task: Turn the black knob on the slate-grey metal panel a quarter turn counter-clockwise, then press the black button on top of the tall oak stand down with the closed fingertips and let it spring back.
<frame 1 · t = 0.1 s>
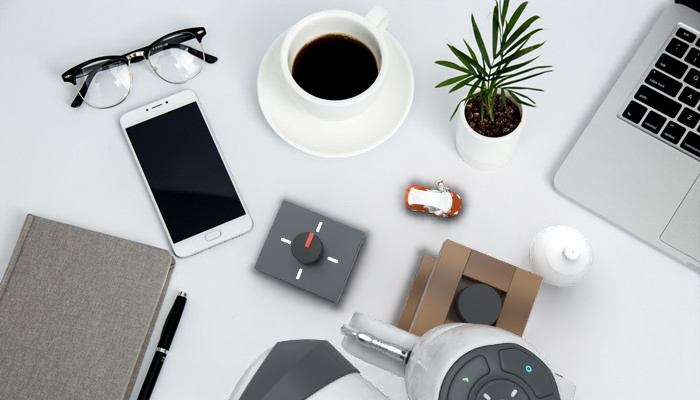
hand: (441, 365, 62), 20 cm above the table, tool pointing down, fingers open, 8 cm apart
control panel: (311, 252, 85), on the table
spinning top: (544, 260, 84), on the table
dial knob: (307, 248, 80), point 5 cm above the table, hinge at 0.0°
toy car: (433, 201, 86), on the table
start button: (477, 305, 59), point 24 cm above the table, slide at 0.1 cm
button stand: (447, 308, 83), on the table
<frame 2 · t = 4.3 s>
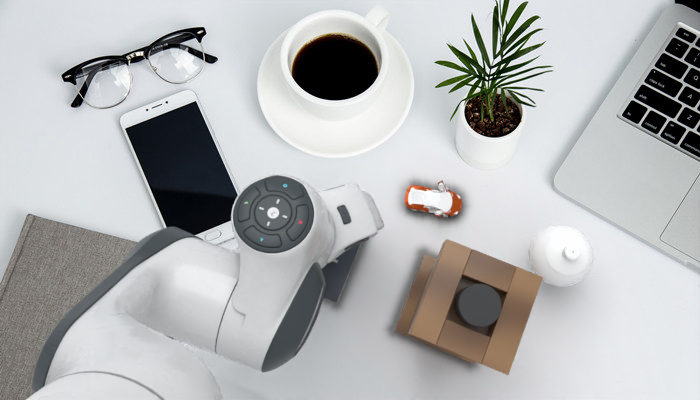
hand: (309, 249, 81), 4 cm above the table, tool pointing down, fingers closed on dial knob, 4 cm apart
dial knob: (307, 248, 80), point 5 cm above the table, hinge at 0.0°, touching gripper
everything else where it was.
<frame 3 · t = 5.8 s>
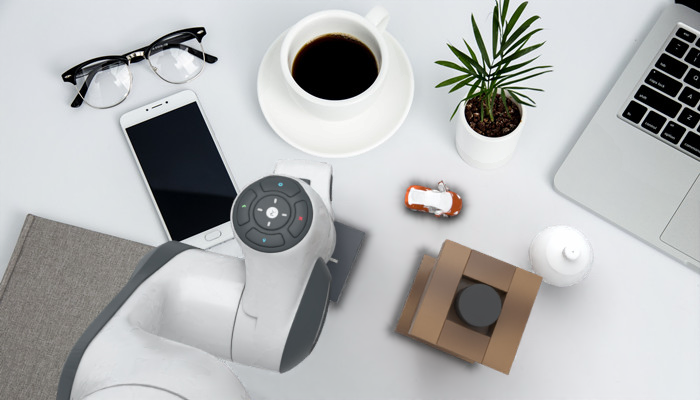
hand: (308, 249, 81), 4 cm above the table, tool pointing down, fingers closed on dial knob, 4 cm apart
dial knob: (307, 248, 80), point 5 cm above the table, hinge at 60.8°, touching gripper
everything else where it was.
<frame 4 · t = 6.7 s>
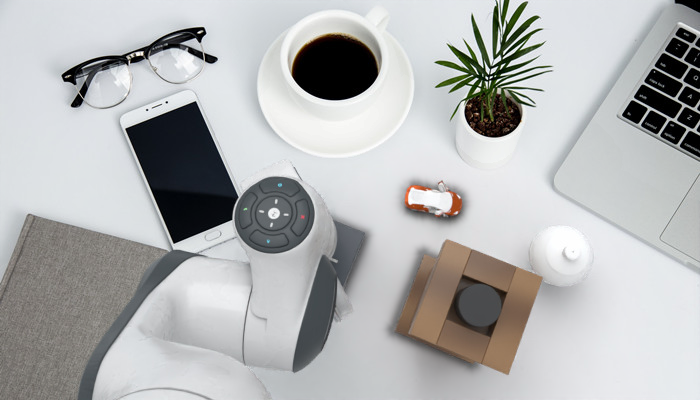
hand: (309, 249, 81), 4 cm above the table, tool pointing down, fingers closed on dial knob, 4 cm apart
dial knob: (307, 248, 80), point 5 cm above the table, hinge at 96.2°, touching gripper
everything else where it was.
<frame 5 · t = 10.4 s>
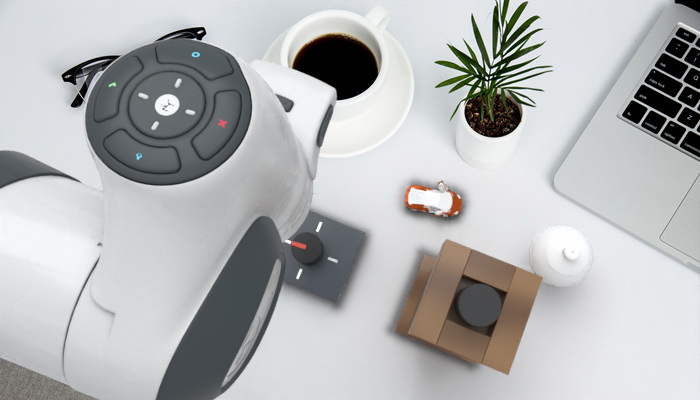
hand: (277, 217, 54), 31 cm above the table, tool pointing down, fingers open, 4 cm apart
dial knob: (307, 248, 80), point 5 cm above the table, hinge at 96.1°
everything else where it was.
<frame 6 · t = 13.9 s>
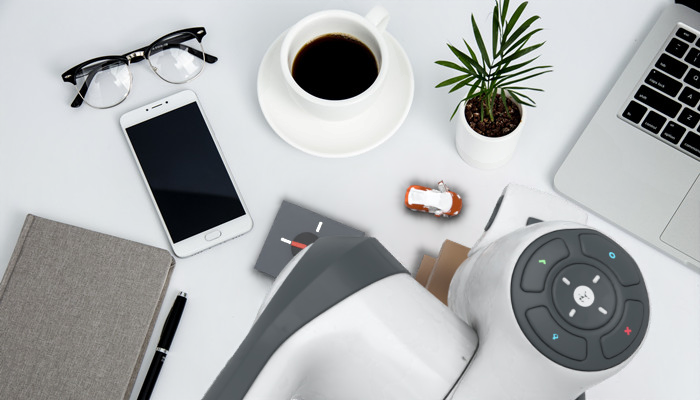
hand: (478, 305, 58), 25 cm above the table, tool pointing down, fingers closed, pressing on start button
start button: (476, 305, 60), point 24 cm above the table, slide at -0.8 cm, touching gripper
everything else where it was.
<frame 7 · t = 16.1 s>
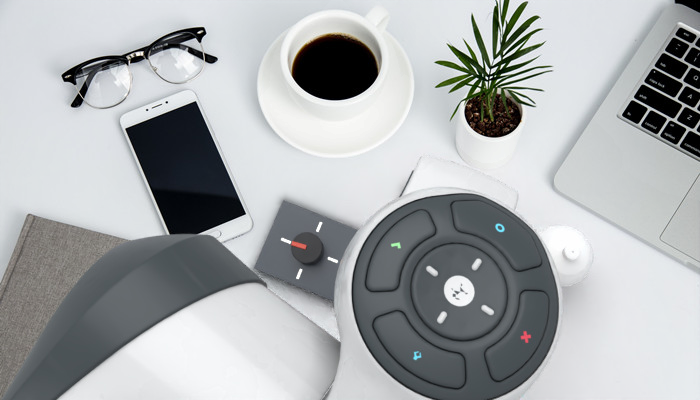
hand: (404, 309, 49), 35 cm above the table, tool pointing down, fingers closed
start button: (477, 305, 59), point 24 cm above the table, slide at 0.1 cm
everything else where it was.
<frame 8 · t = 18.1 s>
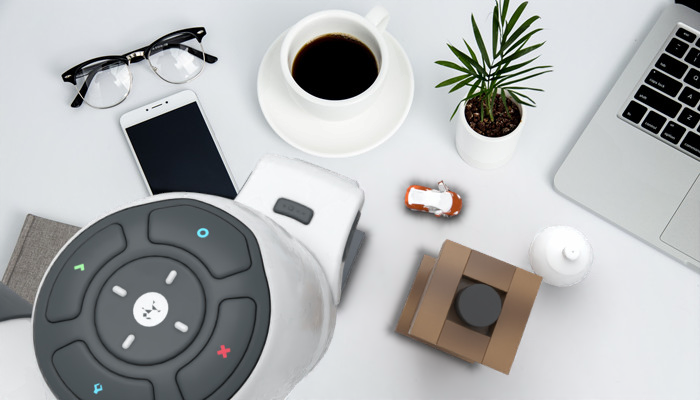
hand: (288, 313, 47), 37 cm above the table, tool pointing down, fingers closed
nothing on the table moved.
at the end: dial knob at +96° (first picture: +0°); start button pushed in 1.0 cm at the most during the clip, back to where it started at the end; start button slide at 0.1 cm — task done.
